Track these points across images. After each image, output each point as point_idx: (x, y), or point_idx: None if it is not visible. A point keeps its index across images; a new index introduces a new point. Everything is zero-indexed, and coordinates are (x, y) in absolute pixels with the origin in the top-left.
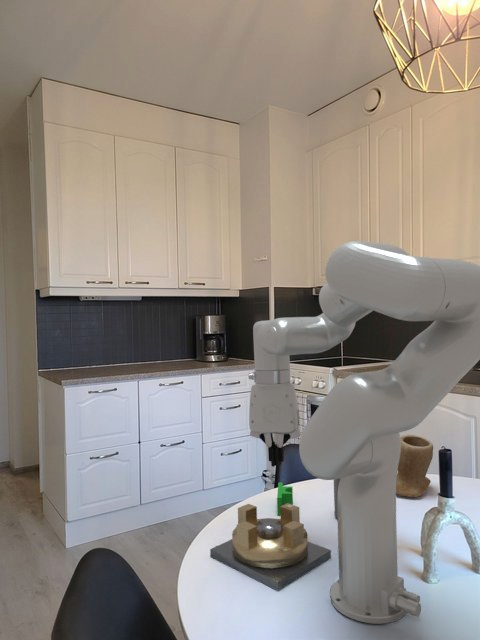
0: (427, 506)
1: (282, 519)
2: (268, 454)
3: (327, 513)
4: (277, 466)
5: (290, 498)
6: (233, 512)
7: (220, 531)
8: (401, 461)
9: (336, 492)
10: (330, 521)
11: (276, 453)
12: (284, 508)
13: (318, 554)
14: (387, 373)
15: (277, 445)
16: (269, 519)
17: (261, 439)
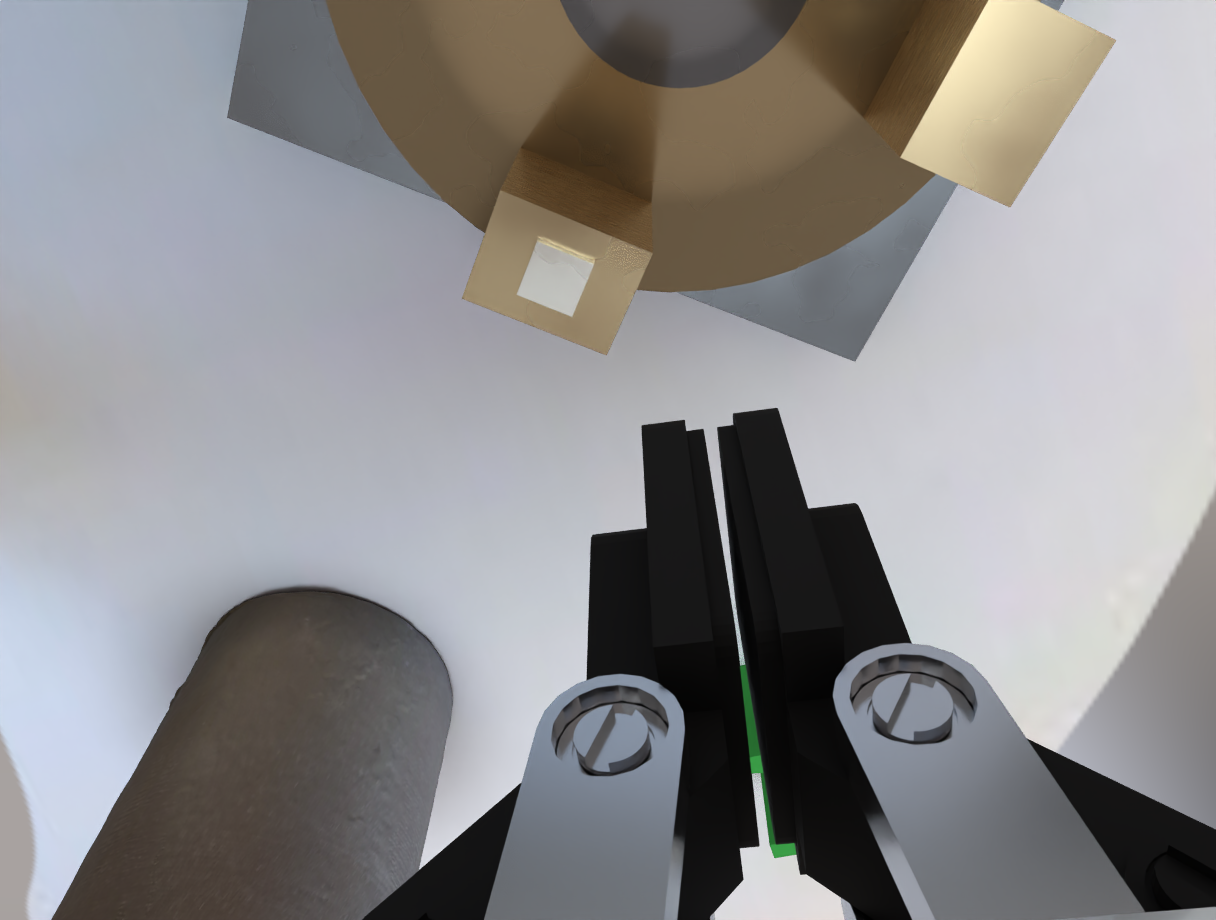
0: (33, 896)
1: (629, 206)
2: (882, 571)
3: (506, 695)
4: (667, 422)
5: (751, 729)
6: (1148, 541)
7: (1194, 220)
8: None
9: (369, 766)
10: (451, 604)
11: (686, 555)
12: (596, 227)
13: (280, 8)
14: None
15: (672, 702)
16: (716, 54)
17: (1182, 817)
